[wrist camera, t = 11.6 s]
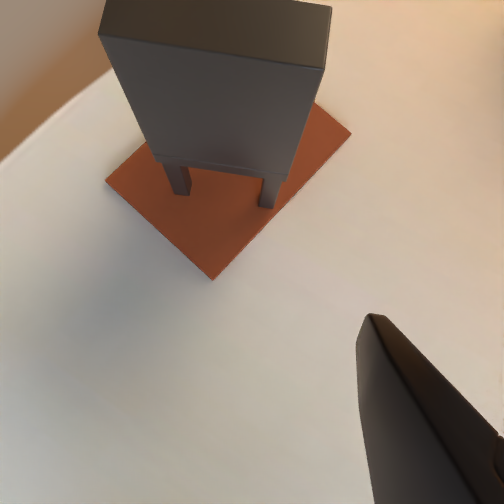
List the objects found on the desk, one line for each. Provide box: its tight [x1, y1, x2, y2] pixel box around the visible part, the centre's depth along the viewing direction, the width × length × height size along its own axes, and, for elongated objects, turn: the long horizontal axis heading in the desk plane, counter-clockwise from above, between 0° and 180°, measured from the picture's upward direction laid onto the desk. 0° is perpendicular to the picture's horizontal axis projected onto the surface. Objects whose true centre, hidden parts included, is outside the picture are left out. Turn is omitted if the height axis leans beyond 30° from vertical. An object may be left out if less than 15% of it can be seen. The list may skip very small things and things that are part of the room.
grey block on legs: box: [98, 0, 332, 209], centre depth 17 cm, size 6×6×13 cm
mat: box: [105, 102, 351, 280], centre depth 24 cm, size 8×12×1 cm
